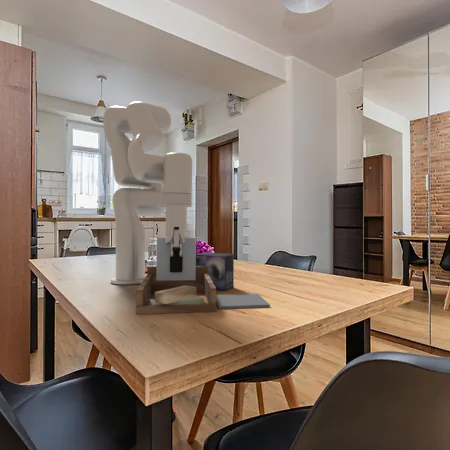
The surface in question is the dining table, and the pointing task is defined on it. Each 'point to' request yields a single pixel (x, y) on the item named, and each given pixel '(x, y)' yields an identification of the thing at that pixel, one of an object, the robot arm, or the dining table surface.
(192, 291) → the offcut upper
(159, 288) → the brown wooden tray
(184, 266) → the block
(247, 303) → the pad
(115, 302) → the dining table surface
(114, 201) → the robot arm
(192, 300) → the offcut lower
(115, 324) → the dining table surface
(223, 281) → the small box
